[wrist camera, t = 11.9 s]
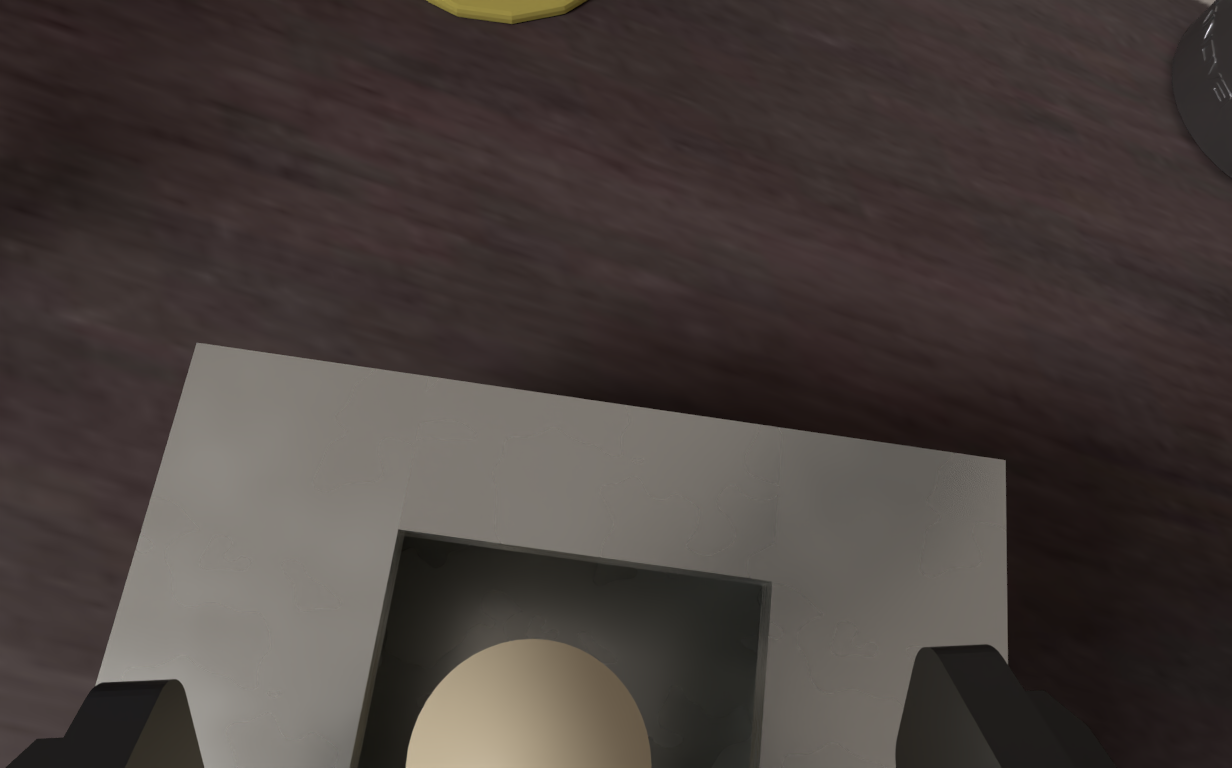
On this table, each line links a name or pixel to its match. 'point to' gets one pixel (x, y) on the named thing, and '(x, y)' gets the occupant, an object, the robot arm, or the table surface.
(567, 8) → the candle
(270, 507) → the white hollow block
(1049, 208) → the table surface
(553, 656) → the capsule
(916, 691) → the robot arm
